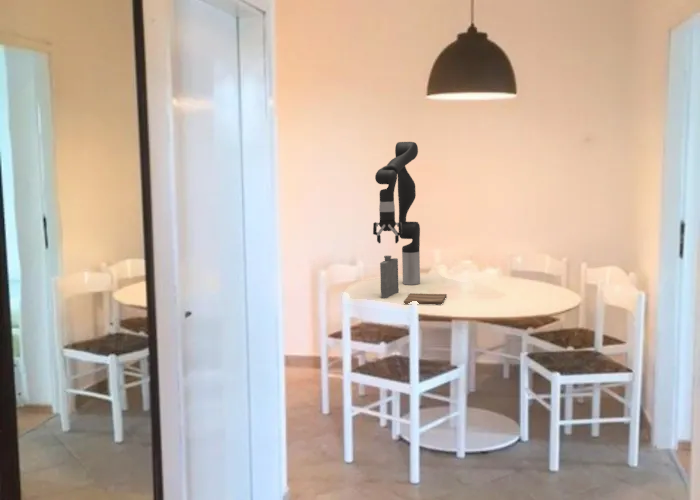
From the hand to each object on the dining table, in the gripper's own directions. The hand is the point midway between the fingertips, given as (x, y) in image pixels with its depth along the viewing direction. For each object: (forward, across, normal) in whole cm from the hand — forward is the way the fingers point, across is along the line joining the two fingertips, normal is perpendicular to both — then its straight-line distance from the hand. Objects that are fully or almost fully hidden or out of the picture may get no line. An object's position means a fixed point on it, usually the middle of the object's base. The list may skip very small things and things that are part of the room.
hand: (387, 243), depth 395 cm
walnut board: (+26, -20, +11) cm, 35 cm away
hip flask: (+26, 0, 0) cm, 26 cm away
